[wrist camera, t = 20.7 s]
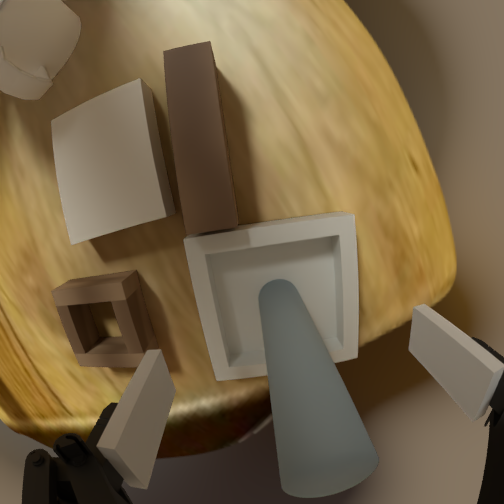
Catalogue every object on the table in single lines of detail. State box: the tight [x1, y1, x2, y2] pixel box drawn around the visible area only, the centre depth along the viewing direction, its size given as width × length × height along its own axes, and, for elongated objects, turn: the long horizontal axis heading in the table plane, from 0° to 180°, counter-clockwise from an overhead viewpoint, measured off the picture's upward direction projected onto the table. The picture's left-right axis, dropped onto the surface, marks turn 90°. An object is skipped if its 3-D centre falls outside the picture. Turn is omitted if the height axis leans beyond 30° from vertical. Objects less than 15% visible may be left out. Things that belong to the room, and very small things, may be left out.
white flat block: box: [51, 78, 176, 245], centre depth 18 cm, size 8×10×3 cm
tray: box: [183, 211, 359, 381], centre depth 20 cm, size 11×11×2 cm
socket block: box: [51, 270, 159, 367], centre depth 20 cm, size 7×7×3 cm
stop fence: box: [163, 41, 239, 235], centre depth 17 cm, size 3×12×4 cm, turn 8°
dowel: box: [258, 279, 379, 498], centre depth 13 cm, size 3×3×15 cm
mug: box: [0, 0, 81, 100], centre depth 10 cm, size 14×10×11 cm
